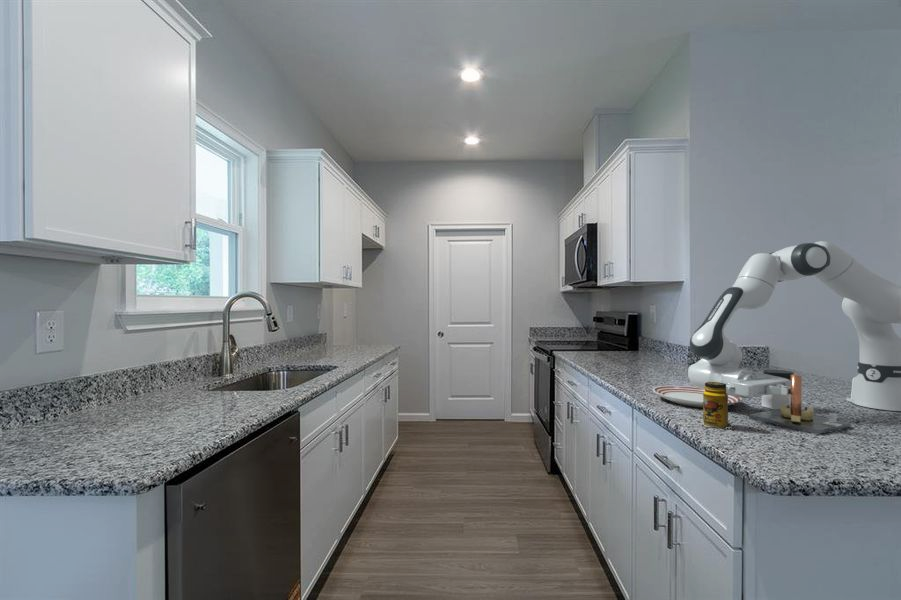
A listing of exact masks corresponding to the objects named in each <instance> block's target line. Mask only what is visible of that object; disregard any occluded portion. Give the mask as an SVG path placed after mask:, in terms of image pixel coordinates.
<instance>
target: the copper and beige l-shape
mask: <svg viewBox="0 0 901 600" xmlns="http://www.w3.org/2000/svg"><path fill="white" fill-rule="evenodd" d="M802 379H803V377H802V375H801V374H794V375H791V408H789V404H785V405H784V404H782V405H781V416H784V417H788V418H791V421H796V422H800V421H801V419H802V420H813V416H814V407H811V406H806V405H805V410H801V404H802V394H803V393H802V392H803V391H802V386H803V385H802Z"/></svg>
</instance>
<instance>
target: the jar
mask: <svg viewBox="0 0 901 600" xmlns="http://www.w3.org/2000/svg"><path fill="white" fill-rule="evenodd" d="M762 374H768V375H773V376H777V377H782V378H786V379H789V380H790V381H791V375H795V373H794V372H793V371H790V370H785V369H763V371H762ZM789 403H791V394H788V395H783V394H770V395H763V396H761V406H762V407H764V408H767V409H770V410H776V409H781V405H782V404H784V405H785V404H789Z"/></svg>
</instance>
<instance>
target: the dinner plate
mask: <svg viewBox="0 0 901 600" xmlns="http://www.w3.org/2000/svg"><path fill="white" fill-rule="evenodd" d="M652 391H653V392H654V394H656V395H657V396H659V397H661V398H663V399H666V400H668V402H669V401H670V402H671V403H674V404H679V405H683V406H687V407H695V408H703V393H704V391H705V390H702V389H699V388H697V387H695V386H688V385H660V386H659V385H658V386H654V387H653V388H652ZM743 399H744V398H740V397H735V396H730V395H728V406H731V405H732V406H733V405H735V404H739V403H741V402H743Z"/></svg>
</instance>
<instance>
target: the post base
mask: <svg viewBox="0 0 901 600" xmlns="http://www.w3.org/2000/svg"><path fill="white" fill-rule="evenodd" d="M805 406H806V405H805V404H804V403H801V410H805ZM789 408H791V403H789ZM837 417H838V414H837V413H831V412H829V413H828V417H823V416H818V415H813V420H802V419H801V421H800V422H796V421H791V418H788V417H784V416H781V409H776V410H774V409H770V410H764V411H761V412H754V413H749V414H748V419H750V418H751V420H754V419H755V421H758V420H760V422H763V421H764V422H763V423H767V422H769V423H768V424H771V423H773V424H772V425H775V424H778V425H777V426H780V425H783V426H782V427H784V426H787V427H786V428H788V427H791V428H790V429H793V428H795V429H794V430H797V429H799V430H798V431H801V430H804V431H803V432H805V431H808V432H807V433H810V432H812V433H811V434H814V433H817V434H816V435H818V434H821V435H823V434H822V433H825V434H827V433H826V432H829V433H831V432H830V431H833V432H836V431H835V430H837V431H840V430H839V429H842V430H845V429H844V428H846V429H849V428H848V427H850V428H851V424H852V423H851V422H847V421H843V420H838V418H837Z"/></svg>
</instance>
